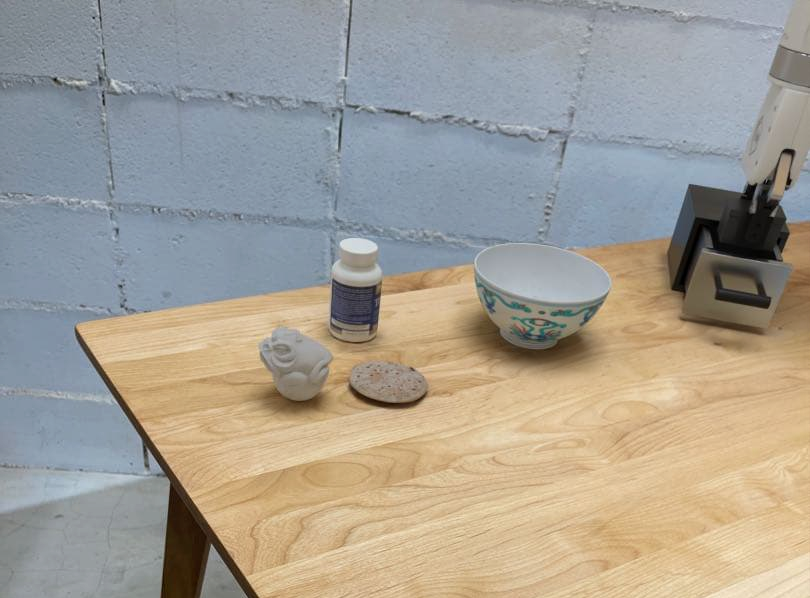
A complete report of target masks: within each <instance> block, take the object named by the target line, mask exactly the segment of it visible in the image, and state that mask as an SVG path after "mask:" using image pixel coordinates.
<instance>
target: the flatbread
mask: <svg viewBox="0 0 810 598" xmlns="http://www.w3.org/2000/svg"><path fill="white" fill-rule="evenodd" d="M348 382H349V385H350V386H351V387H352V388H353V389H354V390H355V391H356V392H357V393H359V394H360V395H362V396H365V397H366V398H369V399H372V400H376V401H379V402H384V403H391V404H404V403H411V402H415V401H417V400H419V399H420V398H422V397H423V396H424V395H425V394H426V393H427V391H428V388H429V383H428V381H427V379H426V378H425V376H424V375H423V374H422V372H420V371H418V370H417V369H415V368H414V367H413V366H409V365H406V364H400V363H395V362H390V361H382V360H381V361H378V360H372V361H369V362H365V363H359V364H355V365H354V366H353V367H352V370H351V373H350V375H349V379H348Z"/></svg>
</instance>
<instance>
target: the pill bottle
mask: <svg viewBox="0 0 810 598" xmlns="http://www.w3.org/2000/svg"><path fill="white" fill-rule="evenodd" d="M378 256H379V246H378V245H377V243H376V242H374V241H372V240H370V239H365V238H362V237H350V238H344V239H342V240H341V241H340V242H339V245H338V258H339V259H338V260H336V261H335V262H334V263H333V265H332V267H331V272H330V287H329V289H330V290H329V291H330V293H329V311H328V330H329V333H331V335H332V336H333V337H335V338H336V339H339V340H341V341H345V342H350V343H360V342H367V341H371V340H372V339H373V338H374V337H376V335H377V334H378V327H379V318H380V307H381V299H382V285H383V269H382V268H381V266H380V265H379V264H378V263H377V262H378V258H379V257H378Z"/></svg>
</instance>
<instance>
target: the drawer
mask: <svg viewBox="0 0 810 598" xmlns="http://www.w3.org/2000/svg"><path fill="white" fill-rule="evenodd" d="M717 228H718V227H714V226H708V225H702V224H699V227H698V230H697V233H696V236H695V239H694V242H693V245H692V248H691V251H690V254H689V257H688V260H687V263H686V266H685V269H684V272H683V277H684V284H685V291H686V292H685V297H684V299H683V303H682V306H681V314H684V315H690V316H695V317H699V318H705V319H710V320H711V319H712V320H716V321H721V322H727V323H734V324H739V325H743V326H750V327H754V328H761V329H765V330H767V329H769V326H770V323H771V321H772V320H773V317H774V314H775V311H776V309H777V307H778V304H779V302H780V300H781V297H782V296H783V294H784V290H785V288H786V286H787V284H788V281H789V278H790V276H791V274H792V271H793V269H794V265H793V264H792V263H790V262H785V261H784V258H783V255H782V254H781V252H780V250H779V247H778V245H777V242H776V244H775V247H774V249H773V251H766V250H755V249H749V248H743V247H737V246H736V245H731V244H725V243H720V240H719V236H718V232H717Z"/></svg>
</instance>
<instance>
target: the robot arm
mask: <svg viewBox="0 0 810 598" xmlns="http://www.w3.org/2000/svg"><path fill="white" fill-rule="evenodd" d="M782 30H783V31H782V32H781V36H780V38H779V42H778V45H777V48H776V50H775V53H774V57H773V59H772V62H771V65H770V68H769V71H768V74H767V77H766V80H767V81H768V82H769V83H771V84H770V86H769V88H768V90H767V92H766V95H765V97H764V99H763V102H762V104H761V107H760V109H759V112H758V114H757V117H756V119H755V122H754V125H753V127H752V130H751V132H750V134H749V137H748V140H747V143H746V145H745V147H744V151H743V153H742V155H741V159H740V164H741V168H742V171H743V174H744V176H745V179H746V182H745V185H744V187H743V190H742V193H743V195H747V196H742V195H741V197H740V199H746V200H752V203H751V206H750V209H749V211H746V212H745V215H744V217H743V220H742V223H741V226H740V228H739V231H738V234H737V237H736V239H735V245H736V246H737V247H743V248H749V249H755V250H761V249H762V248H763V245H764V243H765V240H766V238H767V235H768V233H769V230H770V227H771V225H772V222H773V220H774V217H775V215H776V212H777V209H778V206H779V205H780V202H781V201H782V200H783V197H784V196H785V195H784V194H785V192H788V191H789V190H792V189H793V188H794V187H795V185H796V183H797V180H798V178H799V177H800V174H801V172H802V169H803V168H804V164H805V162H806V159H807V158H808V154H809V151H810V0H793V2H792V4H791V7H790V10H789V13H788V16H787V18H786V22H785V24H784V27H783V29H782Z"/></svg>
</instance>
